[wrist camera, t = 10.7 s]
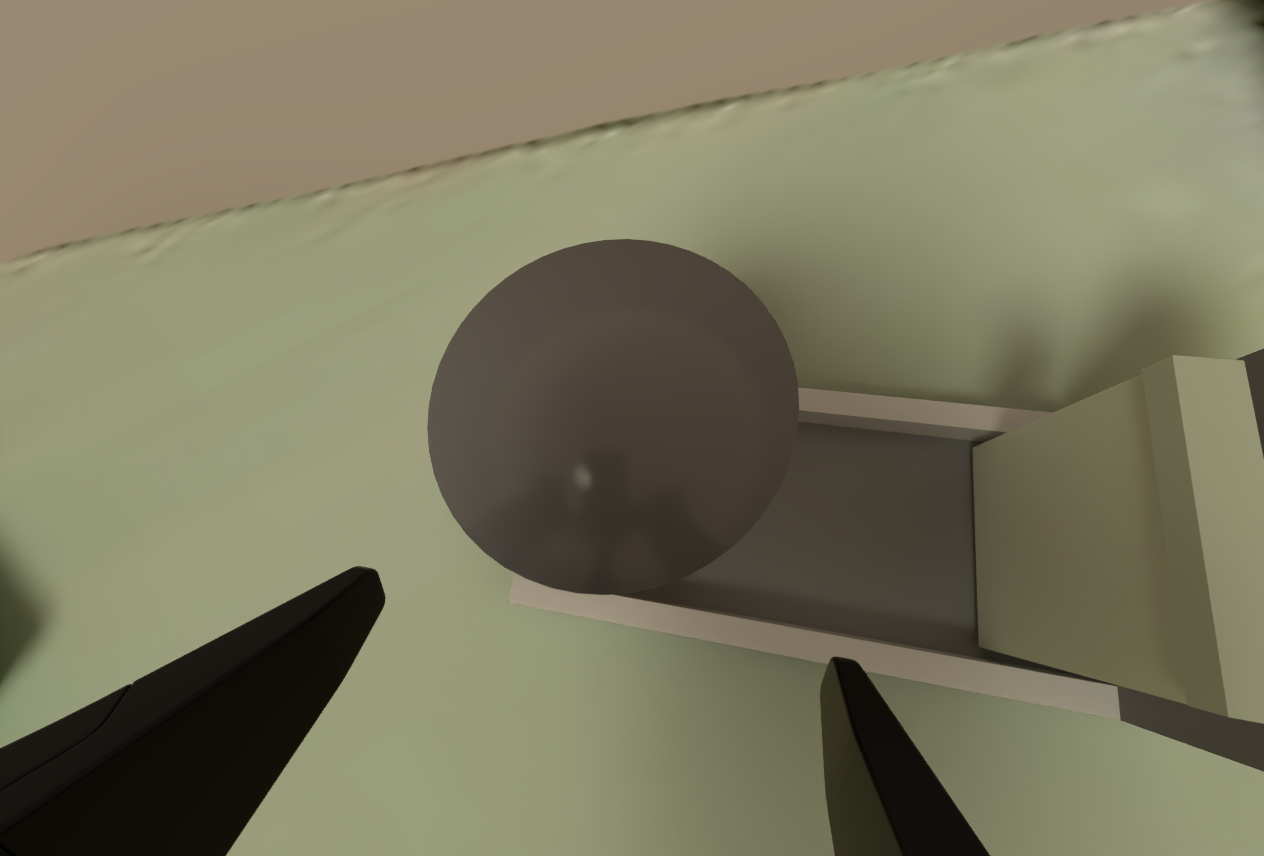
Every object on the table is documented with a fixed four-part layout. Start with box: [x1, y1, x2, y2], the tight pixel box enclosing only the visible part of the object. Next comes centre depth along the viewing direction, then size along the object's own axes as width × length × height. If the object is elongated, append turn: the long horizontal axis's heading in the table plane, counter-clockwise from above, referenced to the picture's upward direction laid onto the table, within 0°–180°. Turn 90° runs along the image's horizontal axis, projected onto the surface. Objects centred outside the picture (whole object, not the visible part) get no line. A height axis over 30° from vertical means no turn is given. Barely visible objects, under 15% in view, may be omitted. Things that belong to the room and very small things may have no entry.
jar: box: [428, 239, 799, 595], centre depth 15 cm, size 7×7×13 cm
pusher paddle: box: [972, 355, 1264, 724], centre depth 14 cm, size 1×8×9 cm, turn 171°
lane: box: [508, 349, 1264, 771], centre depth 15 cm, size 24×10×10 cm, turn 81°
